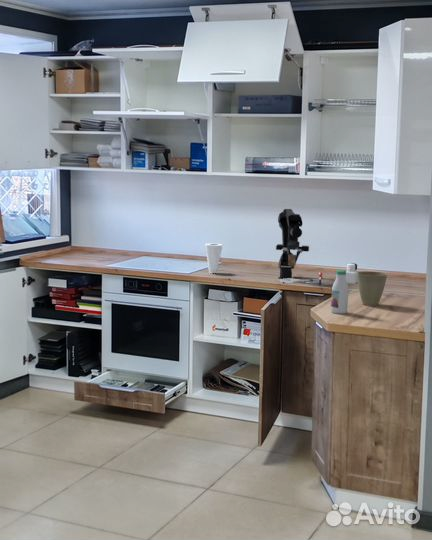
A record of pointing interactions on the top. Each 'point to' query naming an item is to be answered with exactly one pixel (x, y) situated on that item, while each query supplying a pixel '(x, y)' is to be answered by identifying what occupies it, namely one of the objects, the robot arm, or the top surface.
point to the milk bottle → (339, 294)
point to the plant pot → (371, 286)
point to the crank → (314, 280)
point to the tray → (288, 280)
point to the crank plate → (316, 284)
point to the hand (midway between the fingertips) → (291, 262)
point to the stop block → (291, 260)
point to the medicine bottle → (351, 273)
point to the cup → (213, 256)
